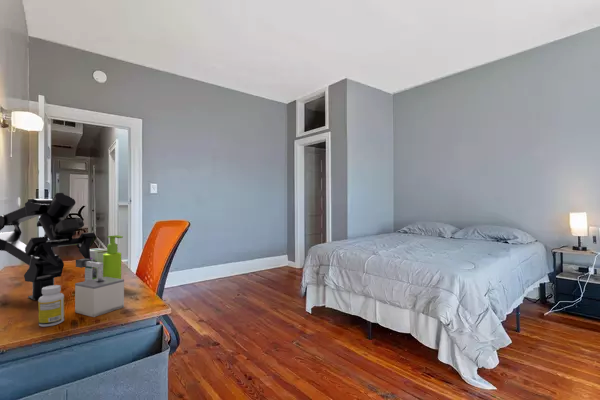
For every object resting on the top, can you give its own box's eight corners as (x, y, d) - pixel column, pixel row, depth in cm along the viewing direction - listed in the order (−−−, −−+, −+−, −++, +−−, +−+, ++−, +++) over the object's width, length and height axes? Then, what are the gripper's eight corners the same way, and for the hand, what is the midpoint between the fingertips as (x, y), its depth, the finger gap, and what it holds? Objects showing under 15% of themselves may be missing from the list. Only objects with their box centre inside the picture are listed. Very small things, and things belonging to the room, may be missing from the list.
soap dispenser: (115, 290, 111) (115, 236, 112) (99, 289, 113) (99, 236, 113) (127, 286, 117) (127, 234, 117) (111, 285, 119) (112, 234, 119)
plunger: (75, 285, 95) (75, 259, 95) (85, 283, 97) (85, 258, 97) (96, 289, 90) (96, 262, 90) (106, 287, 93) (106, 261, 93)
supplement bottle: (48, 319, 84) (48, 284, 84) (69, 319, 85) (69, 284, 85) (32, 327, 79) (33, 290, 79) (55, 326, 79) (55, 289, 79)
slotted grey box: (75, 312, 90) (75, 283, 90) (105, 303, 98) (105, 276, 98) (93, 317, 86) (94, 286, 86) (123, 307, 94) (124, 279, 94)
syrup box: (83, 287, 116) (84, 249, 116) (99, 283, 121) (99, 247, 121) (93, 289, 113) (94, 250, 114) (109, 285, 119) (109, 248, 119)
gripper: (29, 211, 92) (50, 249, 87) (93, 209, 109) (113, 242, 104) (16, 236, 95) (35, 274, 90) (80, 231, 112) (99, 263, 107)
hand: (74, 262), depth 98 cm, fingers open, 9 cm apart
